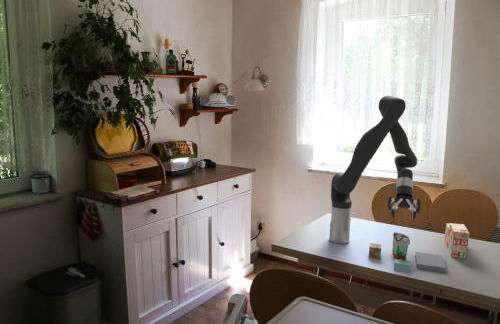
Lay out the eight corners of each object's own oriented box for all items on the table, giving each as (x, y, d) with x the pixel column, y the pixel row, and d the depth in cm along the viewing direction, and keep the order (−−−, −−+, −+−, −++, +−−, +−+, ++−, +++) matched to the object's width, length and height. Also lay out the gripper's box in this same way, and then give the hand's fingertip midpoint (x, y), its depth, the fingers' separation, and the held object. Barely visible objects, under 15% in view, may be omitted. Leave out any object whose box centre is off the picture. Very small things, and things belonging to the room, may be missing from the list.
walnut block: (368, 257, 182) (369, 246, 181) (369, 253, 186) (369, 243, 186) (380, 259, 180) (381, 248, 179) (380, 255, 185) (381, 244, 184)
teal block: (393, 269, 170) (394, 262, 170) (394, 266, 174) (394, 259, 174) (409, 272, 168) (409, 265, 168) (409, 268, 172) (410, 261, 171)
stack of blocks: (444, 241, 204) (446, 217, 202) (457, 242, 202) (460, 218, 200) (450, 257, 184) (453, 230, 182) (466, 259, 182) (469, 232, 180)
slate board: (416, 268, 172) (417, 263, 171) (414, 255, 185) (415, 251, 184) (445, 272, 168) (446, 267, 168) (441, 259, 181) (442, 255, 181)
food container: (410, 265, 174) (412, 242, 173) (395, 264, 175) (397, 241, 174) (406, 254, 186) (408, 233, 184) (391, 253, 187) (393, 231, 186)
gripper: (389, 183, 197) (387, 213, 188) (421, 185, 193) (420, 216, 184) (388, 191, 203) (386, 220, 194) (419, 194, 199) (419, 224, 190)
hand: (403, 218), depth 189 cm, fingers open, 8 cm apart
